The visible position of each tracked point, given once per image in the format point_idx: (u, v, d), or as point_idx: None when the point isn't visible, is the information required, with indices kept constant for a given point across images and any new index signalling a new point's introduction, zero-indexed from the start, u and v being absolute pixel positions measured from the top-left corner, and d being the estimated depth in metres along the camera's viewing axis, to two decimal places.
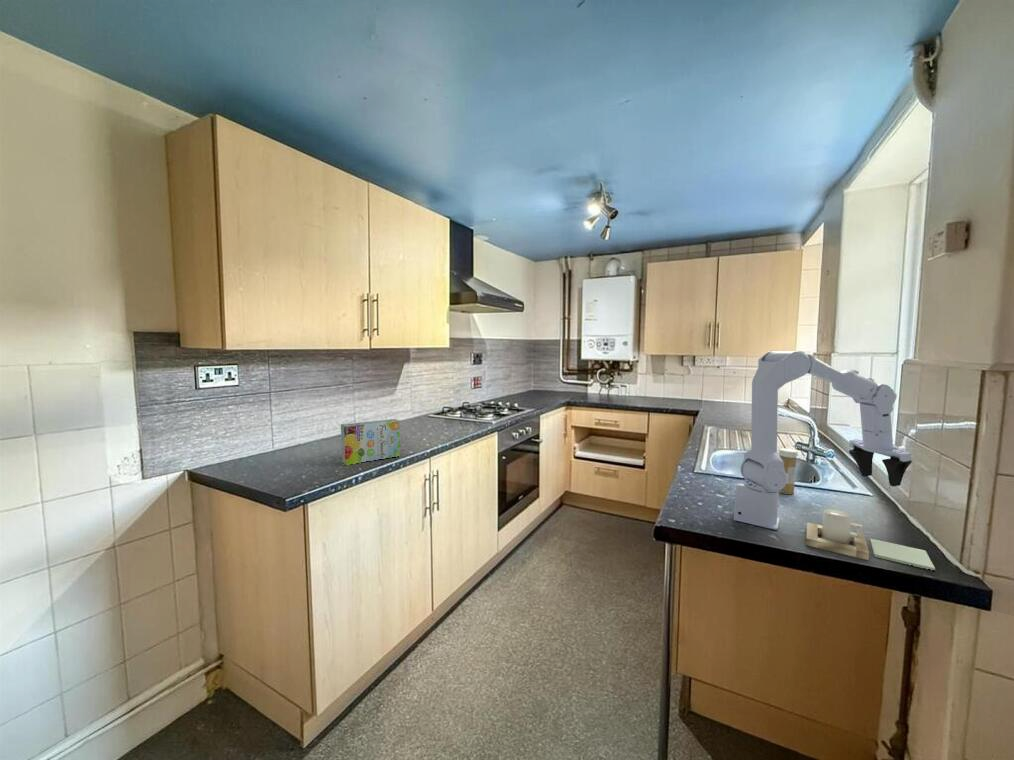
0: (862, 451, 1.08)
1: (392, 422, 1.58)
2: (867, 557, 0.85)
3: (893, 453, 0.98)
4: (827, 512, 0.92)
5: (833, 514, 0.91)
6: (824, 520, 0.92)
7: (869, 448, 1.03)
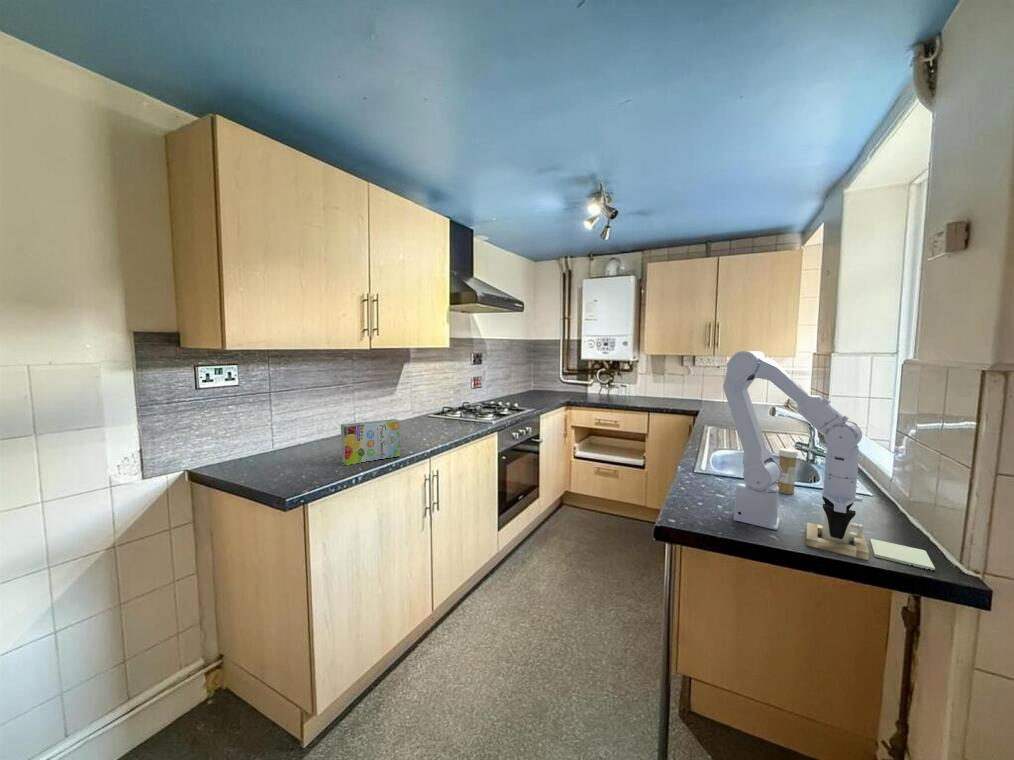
0: None
1: (392, 422, 1.58)
2: (867, 557, 0.85)
3: (832, 500, 0.88)
4: None
5: None
6: (824, 520, 0.92)
7: (823, 491, 0.93)
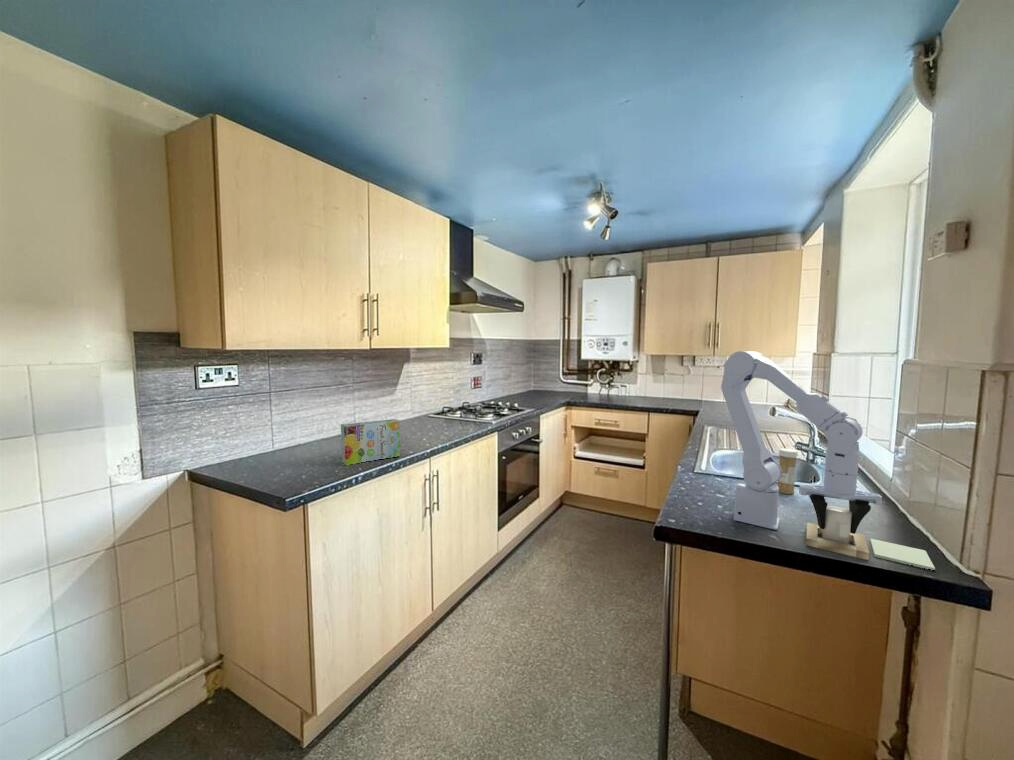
0: (852, 501, 0.91)
1: (392, 422, 1.58)
2: (867, 557, 0.85)
3: None
4: (831, 506, 0.94)
5: (830, 508, 0.93)
6: None
7: None
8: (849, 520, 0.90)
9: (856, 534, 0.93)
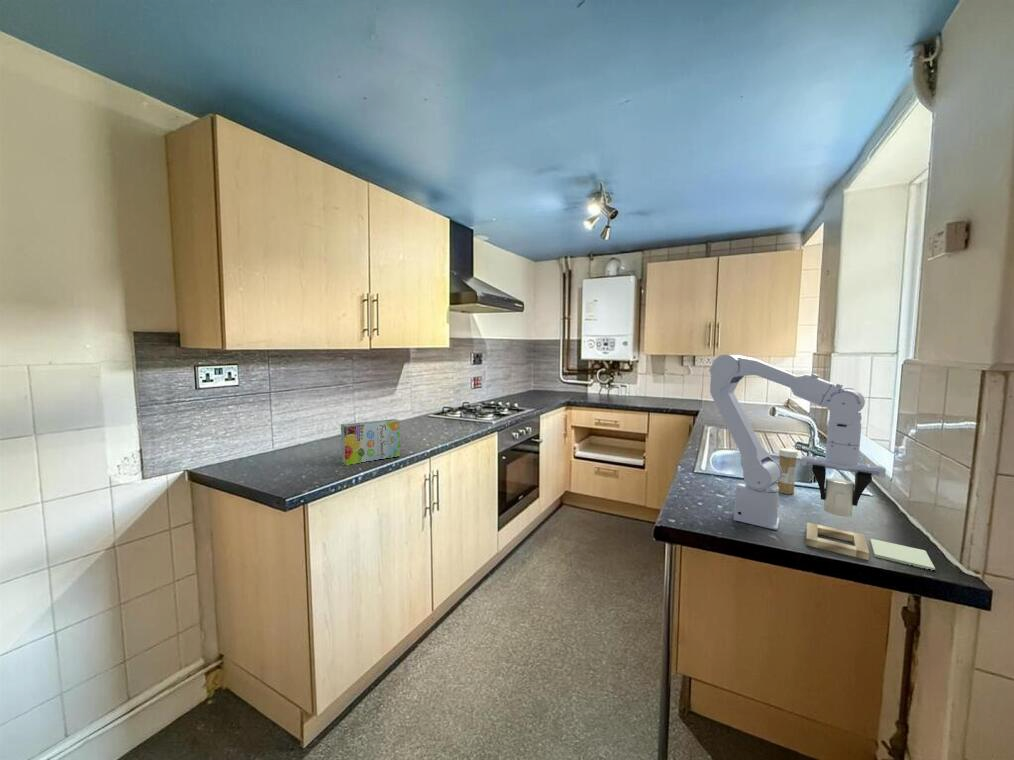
0: (856, 473, 0.90)
1: (392, 422, 1.58)
2: (867, 557, 0.85)
3: None
4: (835, 479, 0.93)
5: (832, 480, 0.92)
6: None
7: None
8: (849, 491, 0.89)
9: (856, 534, 0.93)
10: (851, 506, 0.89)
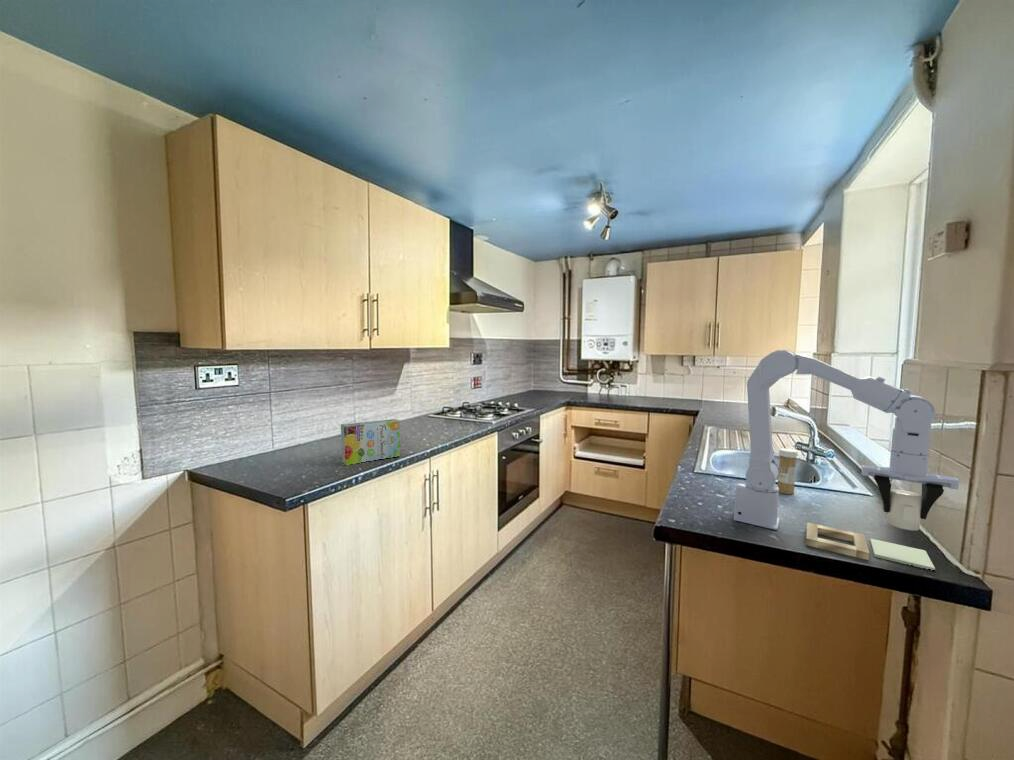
0: (924, 484, 0.85)
1: (392, 422, 1.58)
2: (867, 557, 0.85)
3: None
4: (900, 490, 0.88)
5: (897, 491, 0.87)
6: None
7: None
8: (918, 504, 0.84)
9: (856, 534, 0.93)
10: (919, 519, 0.84)
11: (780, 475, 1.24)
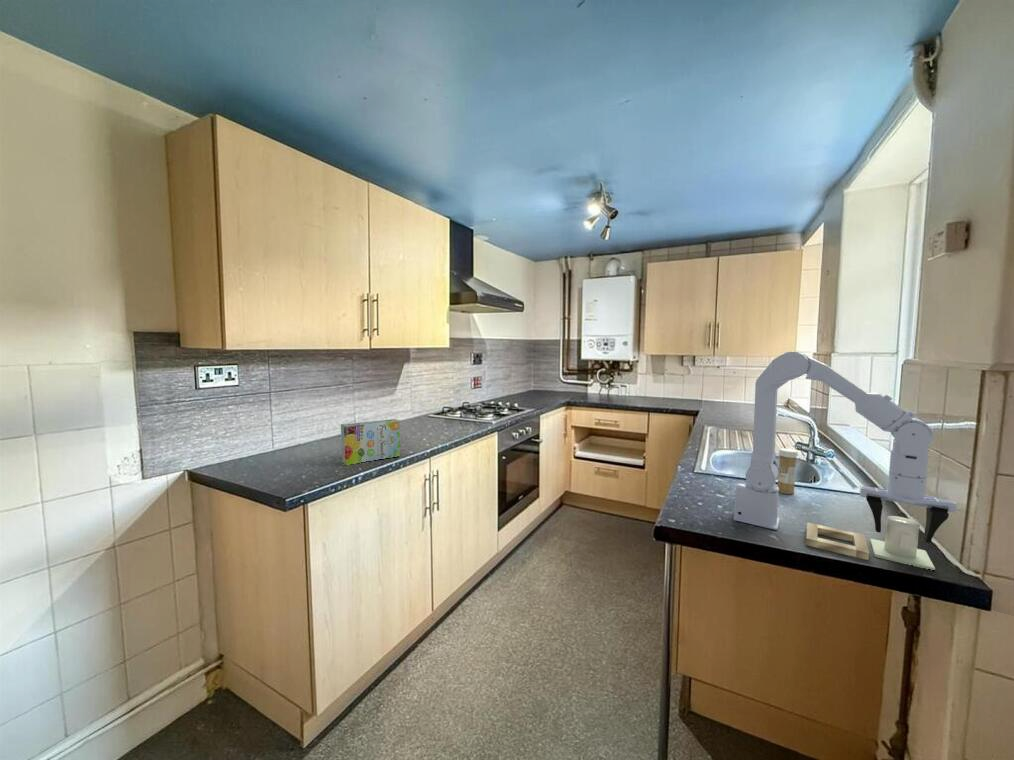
0: (928, 508, 0.85)
1: (392, 422, 1.58)
2: (867, 557, 0.85)
3: None
4: (897, 517, 0.88)
5: (894, 518, 0.88)
6: None
7: None
8: (915, 532, 0.84)
9: (856, 534, 0.93)
10: (916, 547, 0.85)
11: (780, 475, 1.24)
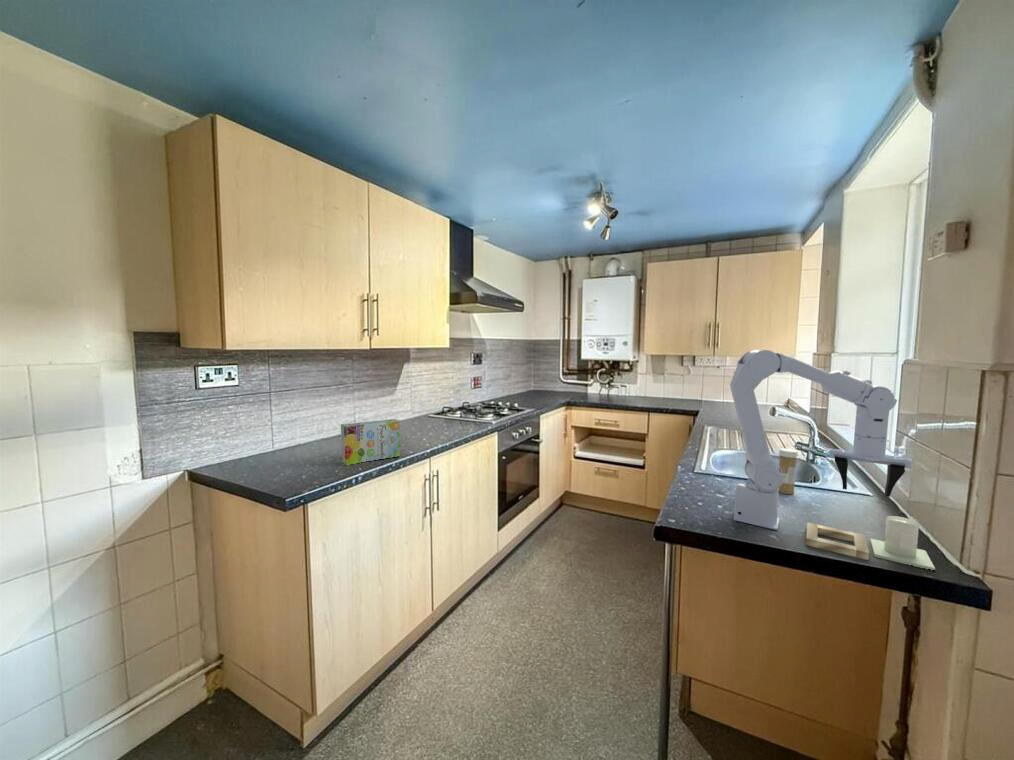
0: (889, 466, 0.94)
1: (392, 422, 1.58)
2: (867, 557, 0.85)
3: None
4: (897, 517, 0.88)
5: (894, 518, 0.88)
6: None
7: None
8: (914, 532, 0.84)
9: (856, 534, 0.93)
10: (916, 547, 0.85)
11: None
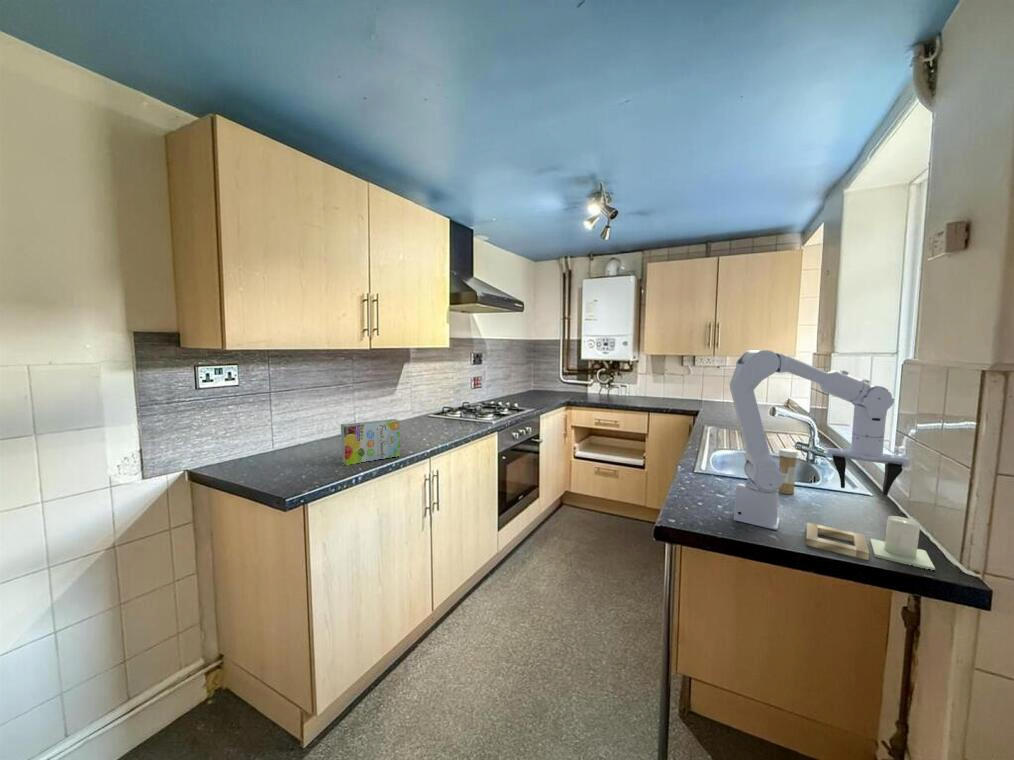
0: (886, 464, 0.95)
1: (392, 422, 1.58)
2: (867, 557, 0.85)
3: None
4: (898, 517, 0.88)
5: (895, 518, 0.88)
6: None
7: None
8: (915, 532, 0.84)
9: (856, 534, 0.93)
10: (916, 547, 0.85)
11: None
